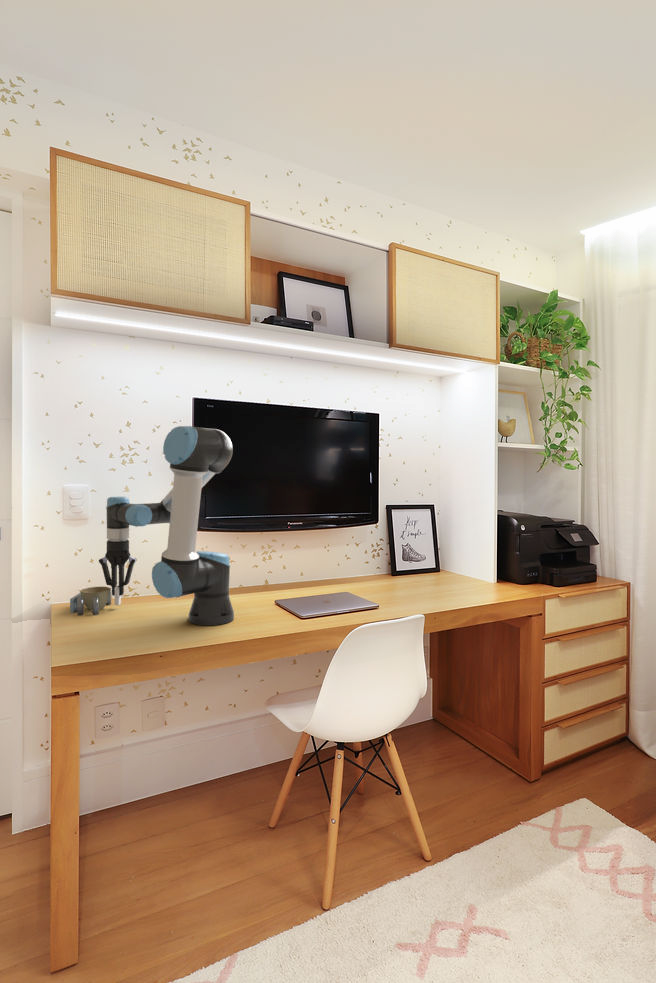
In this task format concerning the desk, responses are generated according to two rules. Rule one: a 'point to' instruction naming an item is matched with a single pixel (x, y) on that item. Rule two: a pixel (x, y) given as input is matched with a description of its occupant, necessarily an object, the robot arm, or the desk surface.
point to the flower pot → (95, 592)
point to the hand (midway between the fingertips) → (117, 604)
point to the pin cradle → (78, 604)
